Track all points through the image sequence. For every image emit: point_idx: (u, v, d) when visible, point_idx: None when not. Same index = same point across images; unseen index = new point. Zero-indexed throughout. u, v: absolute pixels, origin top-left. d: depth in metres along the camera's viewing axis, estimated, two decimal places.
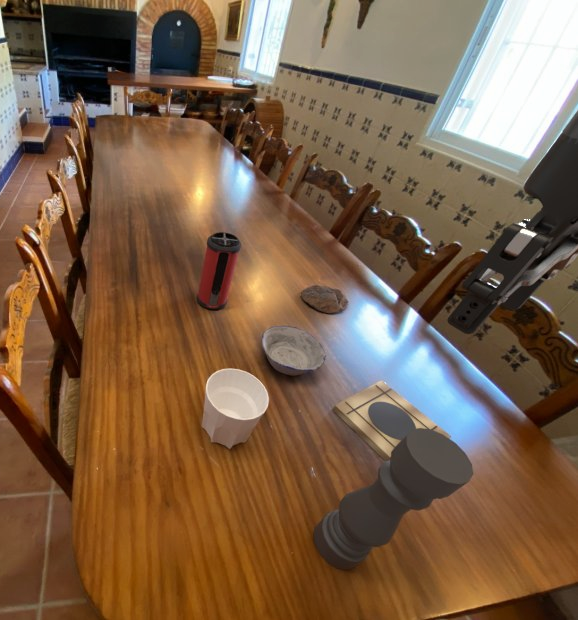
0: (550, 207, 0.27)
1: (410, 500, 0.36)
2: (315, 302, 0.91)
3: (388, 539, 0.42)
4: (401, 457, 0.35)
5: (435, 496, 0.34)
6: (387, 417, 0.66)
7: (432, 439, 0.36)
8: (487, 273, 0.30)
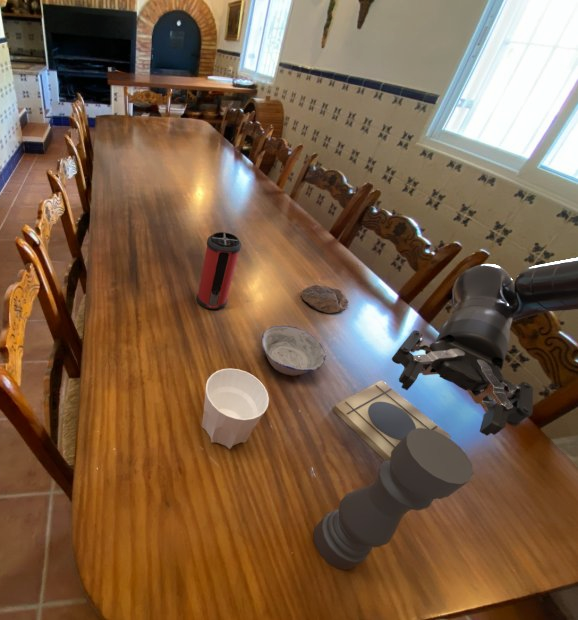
0: None
1: (410, 500, 0.36)
2: (315, 302, 0.91)
3: (388, 539, 0.42)
4: (401, 457, 0.35)
5: (435, 496, 0.34)
6: (387, 417, 0.66)
7: (432, 439, 0.36)
8: None
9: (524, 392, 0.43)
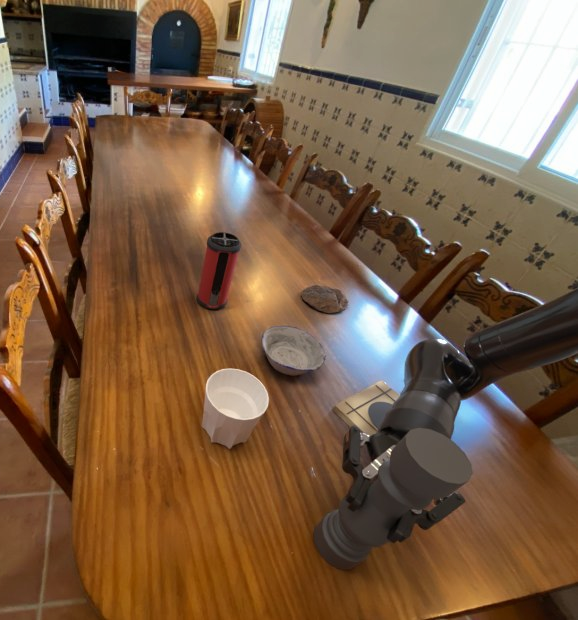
0: None
1: (410, 499, 0.36)
2: (315, 302, 0.91)
3: None
4: (400, 457, 0.35)
5: (434, 496, 0.34)
6: None
7: (431, 439, 0.36)
8: None
9: (449, 501, 0.41)
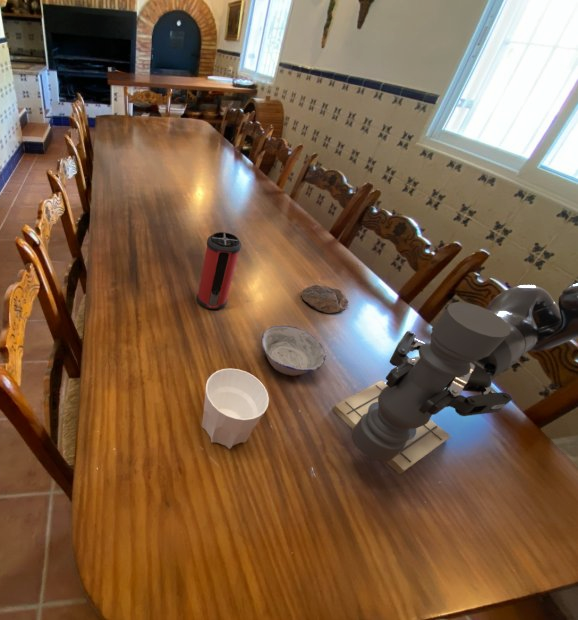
0: None
1: (445, 365, 0.40)
2: (315, 302, 0.91)
3: (422, 419, 0.45)
4: (440, 321, 0.40)
5: (467, 353, 0.38)
6: None
7: (475, 310, 0.39)
8: None
9: (493, 396, 0.43)
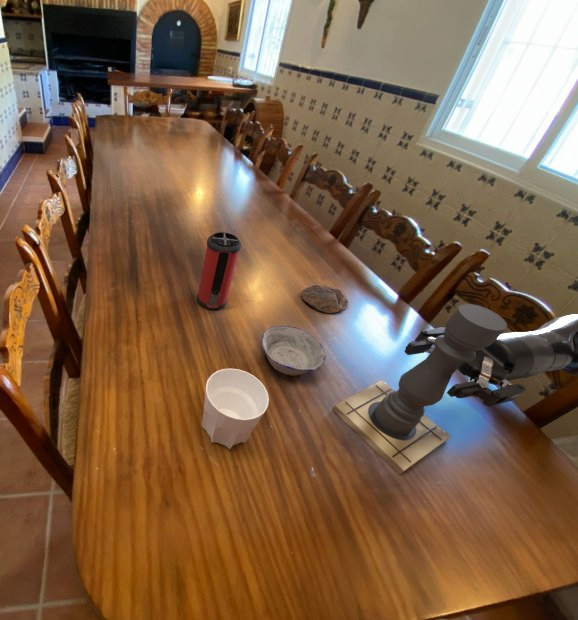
0: None
1: (451, 350, 0.52)
2: (315, 302, 0.91)
3: (430, 397, 0.56)
4: (452, 315, 0.51)
5: (467, 341, 0.49)
6: None
7: (484, 311, 0.50)
8: (431, 348, 0.61)
9: (511, 387, 0.52)
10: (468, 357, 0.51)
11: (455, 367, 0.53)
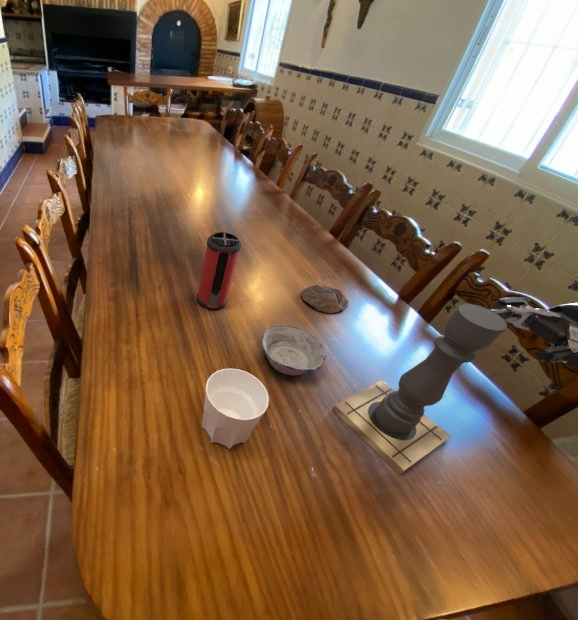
0: None
1: (451, 350, 0.52)
2: (315, 302, 0.91)
3: (430, 397, 0.56)
4: (452, 315, 0.51)
5: (467, 341, 0.49)
6: None
7: (484, 311, 0.50)
8: (508, 317, 0.60)
9: None
10: (468, 357, 0.51)
11: (455, 367, 0.53)
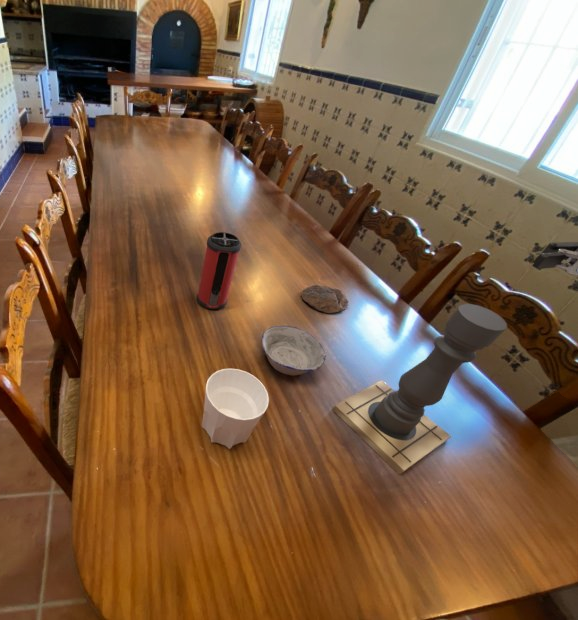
0: None
1: (451, 350, 0.52)
2: (315, 302, 0.91)
3: (430, 397, 0.56)
4: (452, 315, 0.51)
5: (467, 341, 0.49)
6: None
7: (484, 311, 0.50)
8: (560, 263, 0.53)
9: None
10: (468, 357, 0.51)
11: (455, 367, 0.53)
